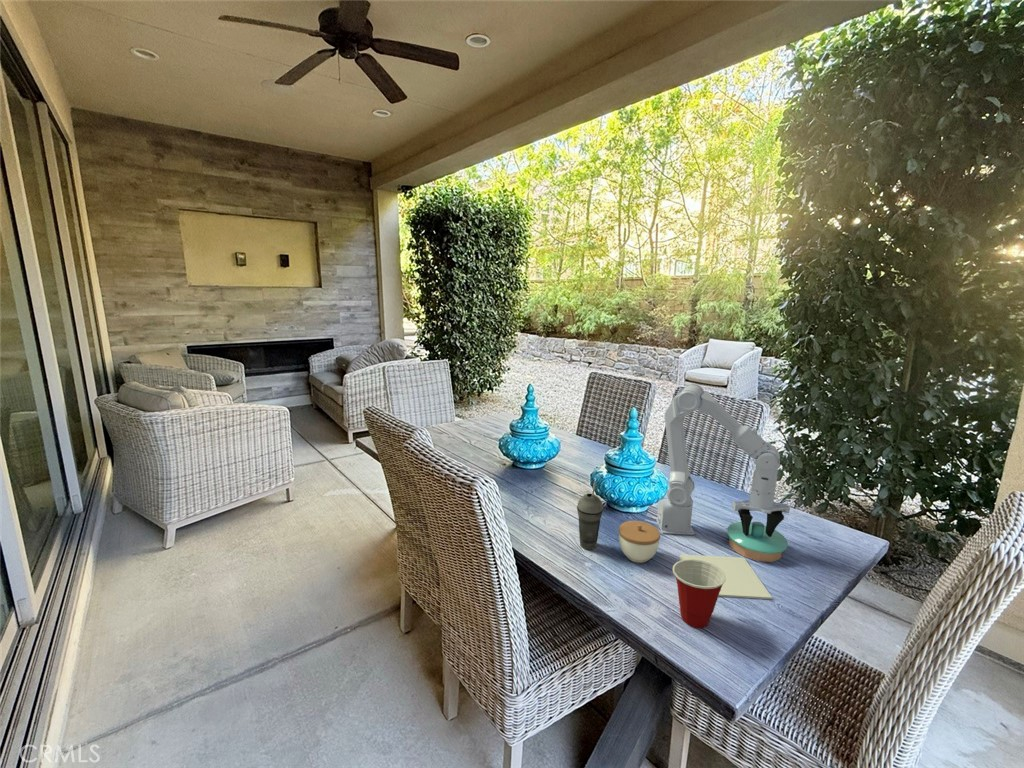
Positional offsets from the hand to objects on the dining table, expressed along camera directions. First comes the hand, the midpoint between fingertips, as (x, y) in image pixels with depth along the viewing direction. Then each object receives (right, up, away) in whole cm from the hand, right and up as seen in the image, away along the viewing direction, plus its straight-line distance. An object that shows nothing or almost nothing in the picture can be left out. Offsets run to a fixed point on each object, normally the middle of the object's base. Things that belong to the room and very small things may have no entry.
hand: (756, 534), depth 128 cm
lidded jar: (-34, -5, -3) cm, 35 cm away
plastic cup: (-28, -10, -26) cm, 40 cm away
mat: (-15, -7, -12) cm, 20 cm away
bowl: (0, -4, +1) cm, 4 cm away
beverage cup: (-47, -4, +1) cm, 47 cm away
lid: (0, -1, 0) cm, 1 cm away
